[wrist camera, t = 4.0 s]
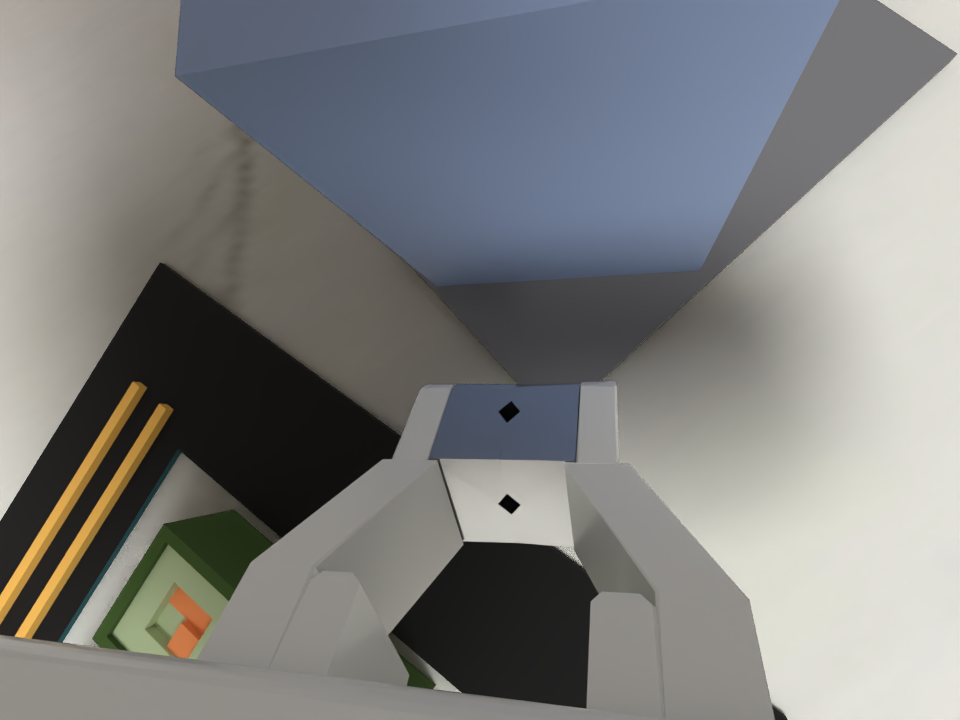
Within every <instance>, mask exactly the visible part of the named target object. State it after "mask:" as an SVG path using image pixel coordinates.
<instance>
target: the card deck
mask: <svg viewBox="0 0 960 720" xmlns="http://www.w3.org/2000/svg"><path fill="white" fill-rule="evenodd" d="M838 2H839V0H181V6H180V19H179V31H178V43H177V56H176V68H175V77H177V78H178V79H179V80H180V81H182V82H183V83H184V84H185V85H187V86H188V87H189V88H190V89H192V90H193V91H194V92H195V93H197V94H198V95H199V96H200V97H202V98H203V99H204V100H205V101H207V102H208V103H209V104H210V105H212V106H213V107H214V108H215V109H217V110H218V111H219V112H220V113H222V114H223V115H224V116H225V117H227V118H228V119H229V120H230V121H232V122H233V123H234V124H235V125H236V126H238V127H239V128H240V129H241V130H243V131H244V132H245V133H246V134H248V135H249V136H250V137H251V138H253V139H254V140H255V141H256V142H258V143H259V144H260V145H261V146H263V147H264V148H265V149H266V150H268V151H269V152H270V153H271V154H273V155H274V156H275V157H276V158H278V159H279V160H280V161H281V162H283V163H284V164H285V165H286V166H288V167H289V168H290V169H291V170H293V171H294V172H295V173H296V174H298V175H299V176H300V177H301V178H303V179H304V180H305V181H306V182H308V183H309V184H310V185H311V186H313V187H314V188H315V189H316V190H318V191H319V192H320V193H321V194H323V195H324V196H325V197H326V198H328V199H329V200H330V201H331V202H333V203H334V204H335V205H336V206H338V207H339V208H340V209H341V210H343V211H344V212H345V213H346V214H348V215H349V216H350V217H351V218H352V219H354V220H355V221H356V222H357V223H359V224H360V225H361V226H362V227H364V228H365V229H366V230H367V231H369V232H370V233H371V234H372V235H374V236H375V237H376V238H377V239H379V240H380V241H381V242H382V243H384V244H385V245H386V246H387V247H389V248H390V249H391V250H392V251H394V252H395V253H396V254H397V255H399V256H400V257H401V258H402V259H404V260H405V261H406V262H407V263H409V264H410V265H411V266H412V267H414V268H415V269H416V270H417V271H419V272H420V273H421V274H422V275H424V276H425V277H426V278H427V279H429V280H430V281H431V282H432V283H434V284H435V285H436V286H437V287H440V286H456V285H473V284H489V283H505V282H521V281H537V280H553V279H570V278H586V277H602V276H618V275H634V274H650V273H667V272H683V271H699V270H700V269H701V267H702V265H703V263H704V262H705V260H706V258H707V256H708V254H709V252H710V250H711V248H712V246H713V244H714V242H715V240H716V238H717V236H718V234H719V232H720V231H721V229H722V227H723V225H724V223H725V221H726V219H727V217H728V215H729V213H730V211H731V209H732V207H733V205H734V203H735V202H736V200H737V198H738V196H739V194H740V192H741V190H742V188H743V186H744V184H745V182H746V180H747V178H748V176H749V174H750V172H751V171H752V169H753V167H754V165H755V163H756V161H757V159H758V157H759V155H760V153H761V151H762V149H763V147H764V145H765V143H766V142H767V140H768V138H769V136H770V134H771V132H772V130H773V128H774V126H775V124H776V122H777V120H778V118H779V116H780V114H781V112H782V111H783V109H784V107H785V105H786V103H787V101H788V99H789V97H790V95H791V93H792V91H793V89H794V87H795V85H796V83H797V81H798V80H799V78H800V76H801V74H802V72H803V70H804V68H805V66H806V64H807V62H808V60H809V58H810V56H811V54H812V52H813V51H814V49H815V47H816V45H817V43H818V41H819V39H820V37H821V35H822V33H823V31H824V29H825V27H826V25H827V23H828V21H829V20H830V18H831V16H832V14H833V12H834V10H835V8H836V6H837V4H838Z"/></svg>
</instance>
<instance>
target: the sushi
mask: <svg viewBox="0 0 960 720" xmlns="http://www.w3.org/2000/svg"><path fill="white" fill-rule="evenodd" d="M400 438H401V436H400V435H399V434H397V433H396V432H395V431H393V430H392V429H390V428H389V427H388V426H386V425H385V424H384V423H382V422H381V421H379V420H378V419H377V418H375V417H374V416H373V415H371V414H370V413H368V412H367V411H366V410H364V409H363V408H362V407H360V406H359V405H357V404H356V403H355V402H353V401H352V400H351V399H349V398H348V397H346V396H345V395H344V394H342V393H341V392H340V391H338V390H337V389H336V388H334V387H333V386H331V385H330V384H329V383H327V382H326V381H325V380H323V379H322V378H320V377H319V376H318V375H316V374H315V373H314V372H312V371H311V370H309V369H308V368H307V367H305V366H304V365H303V364H301V363H300V362H298V361H297V360H296V359H294V358H293V357H292V356H290V355H289V354H287V353H286V352H285V351H283V350H282V349H281V348H279V347H278V346H277V345H275V344H274V343H272V342H271V341H270V340H268V339H267V338H266V337H264V336H263V335H261V334H260V333H259V332H257V331H256V330H255V329H253V328H252V327H250V326H249V325H248V324H246V323H245V322H244V321H242V320H241V319H239V318H238V317H237V316H235V315H234V314H233V313H231V312H230V311H228V310H227V309H226V308H224V307H223V306H222V305H220V304H219V303H217V302H216V301H215V300H213V299H212V298H211V297H209V296H208V295H207V294H205V293H204V292H202V291H201V290H200V289H198V288H197V287H196V286H194V285H193V284H191V283H190V282H189V281H187V280H186V279H185V278H183V277H182V276H180V275H179V274H178V273H176V272H175V271H174V270H172V269H171V268H169V267H168V266H167V265H165V264H163V263H159V265H158V266H157V268H156V270H155V271H154V273H153V275H152V276H151V278H150V279H149V281H148V283H147V284H146V286H145V288H144V289H143V291H142V292H141V294H140V296H139V297H138V299H137V301H136V302H135V304H134V305H133V307H132V309H131V310H130V312H129V313H128V315H127V317H126V318H125V320H124V322H123V323H122V325H121V326H120V328H119V330H118V331H117V333H116V335H115V336H114V338H113V339H112V341H111V343H110V344H109V346H108V348H107V349H106V351H105V352H104V354H103V356H102V357H101V359H100V360H99V362H98V364H97V365H96V367H95V369H94V370H93V372H92V373H91V375H90V377H89V378H88V380H87V382H86V383H85V385H84V386H83V388H82V390H81V391H80V393H79V395H78V396H77V398H76V399H75V401H74V403H73V404H72V406H71V407H70V409H69V411H68V412H67V414H66V416H65V417H64V419H63V420H62V422H61V424H60V425H59V427H58V429H57V430H56V432H55V433H54V435H53V437H52V438H51V440H50V442H49V443H48V445H47V446H46V448H45V450H44V451H43V453H42V455H41V456H40V458H39V459H38V461H37V463H36V464H35V466H34V467H33V469H32V471H31V472H30V474H29V476H28V477H27V479H26V480H25V482H24V484H23V485H22V487H21V489H20V490H19V492H18V493H17V495H16V497H15V498H14V500H13V502H12V503H11V505H10V506H9V508H8V510H7V511H6V513H5V514H4V516H3V518H2V519H1V521H0V635H5V636H13V637H21V638H29V639H37V640H45V641H53V642H61V643H62V642H63V640H64V639H65V637H66V636H67V634H68V632H69V631H70V629H71V628H72V626H73V624H74V623H75V621H76V620H77V618H78V616H79V615H80V613H81V612H82V610H83V608H84V607H85V605H86V604H87V602H88V600H89V599H90V597H91V596H92V594H93V592H94V591H95V589H96V588H97V586H98V584H99V583H100V581H101V580H102V578H103V576H104V575H105V573H106V572H107V570H108V568H109V567H110V565H111V564H112V562H113V560H114V559H115V557H116V555H117V554H118V552H119V551H120V549H121V547H122V546H123V544H124V543H125V541H126V539H127V538H128V536H129V535H130V533H131V531H132V530H133V528H134V527H135V525H136V523H137V522H138V520H139V519H140V517H141V515H142V514H143V512H144V511H145V509H146V507H147V506H148V504H149V503H150V501H151V499H152V498H153V496H154V495H155V493H156V491H157V490H158V488H159V487H160V485H161V483H162V482H163V480H164V479H165V477H166V475H167V474H168V472H169V471H170V469H171V467H172V466H173V464H174V463H175V461H176V459H177V458H178V456H179V454H180V453H181V452H182V453H184V454H185V455H186V456H187V457H188V458H189V459H191V460H192V461H193V462H194V463H195V464H196V465H198V466H199V467H200V468H201V469H202V470H203V471H204V472H206V473H207V474H208V475H209V476H210V477H211V478H213V479H214V480H215V481H216V482H217V483H218V484H220V485H221V486H222V487H223V488H224V489H225V490H227V491H228V492H229V493H230V494H231V495H232V496H234V497H235V498H236V499H237V500H238V501H239V502H241V503H242V504H243V505H244V506H245V507H246V508H248V509H249V510H250V511H251V512H252V513H253V514H255V515H256V516H257V517H258V518H259V519H260V520H262V521H263V522H264V523H265V524H266V525H267V526H269V527H270V528H271V529H272V530H273V531H274V532H275V533H277V534H278V535H279V536H280V537H281V538H283V537H284V536H285V535H286V534H288V533H289V532H290V531H291V530H293V529H294V528H295V527H297V526H298V525H299V524H300V523H302V522H303V521H304V520H306V519H307V518H308V517H309V516H311V515H312V514H313V513H315V512H316V511H317V510H318V509H320V508H321V507H322V506H324V505H325V504H326V503H327V502H329V501H330V500H331V499H332V498H334V497H335V496H336V495H338V494H339V493H340V492H341V491H343V490H344V489H345V488H347V487H348V486H349V485H350V484H352V483H353V482H354V481H356V480H357V479H358V478H359V477H361V476H362V475H363V474H365V473H366V472H367V471H368V470H370V469H371V468H372V467H374V466H375V465H376V464H377V463H379V462H380V461H381V460H382V459H392V458H393V455H394V453H395V450H396V448H397V445H398V443H399V440H400ZM272 545H274V544H273V543H272V542H271V541H269V540H268V539H267V538H266V537H265V536H264V535H262V534H261V533H260V532H259V531H258V530H257V529H256V528H254V527H253V526H252V525H251V524H250V523H249V522H248V521H246V520H245V519H244V518H243V517H242V516H241V515H239V514H238V513H237V512H236V511H235V510H230V511H225V512H220V513H215V514H210V515H205V516H200V517H195V518H191V519H186V520H181V521H176V522H171V523H166V524H164V525H163V526H162V528H161V529H160V531H159V533H158V534H157V536H156V537H155V539H154V541H153V542H152V544H151V545H150V547H149V549H148V550H147V552H146V553H145V555H144V557H143V558H142V560H141V561H140V563H139V565H138V566H137V568H136V569H135V571H134V572H133V574H132V576H131V577H130V579H129V580H128V582H127V584H126V585H125V587H124V588H123V590H122V592H121V593H120V595H119V596H118V598H117V600H116V601H115V603H114V604H113V606H112V608H111V609H110V611H109V612H108V614H107V616H106V617H105V619H104V620H103V622H102V624H101V625H100V627H99V628H98V630H97V632H96V633H95V635H94V636H93V638H92V639H93V640H94V641H95V642H96V643H97V644H98V645H99V646H100V647H101V648H109V649H117V650H125V651H133V652H141V653H149V654H157V655H164V656H172V657H180V658H188V659H197V658H198V656H199V654H200V652H201V650H202V649H203V647H204V645H205V643H206V642H207V640H208V638H209V636H210V634H211V633H212V631H213V629H214V627H215V625H216V624H217V622H218V620H219V618H220V617H221V615H222V613H223V611H224V609H225V608H226V606H227V604H228V602H229V600H230V599H231V597H232V595H233V593H234V592H235V590H236V588H237V586H238V584H239V583H240V581H241V579H242V577H243V575H244V574H245V572H246V570H247V568H248V567H249V565H250V563H251V562H252V561H253V560H254V559H256V558H257V557H258V556H259V555H261V554H262V553H263V552H265V551H266V550H267V549H268V548H270V547H271V546H272ZM598 594H599V593H598V592H597V590H596V588H595V586H594V584H593V583H592V581H591V579H590V577H589V576H588V574H587V572H586V571H585V570H584V569H583V568H581V567H580V566H578V565H577V564H576V563H574V562H573V561H572V560H570V559H569V558H567V557H566V556H565V555H563V554H562V553H561V552H559V551H558V550H556V549H555V548H554V547H552V546H550V545H537V544H525V543H505V542H469V541H463V546H462V547H461V548H460V549H459V551H458V552H457V553H456V554H455V555H454V557H453V558H452V559H451V560H450V561H449V563H448V564H447V565H446V566H445V567H444V569H443V570H442V571H441V572H440V573H439V575H438V576H437V577H436V578H435V579H434V581H433V582H432V583H431V584H430V585H429V587H428V588H427V589H426V590H425V591H424V593H423V594H422V595H421V596H420V597H419V599H418V600H417V601H416V602H415V603H414V605H413V606H412V607H411V608H410V609H409V611H408V612H407V613H406V614H405V615H404V617H403V618H402V619H401V620H400V621H399V623H398V624H397V625H396V626H395V627H394V629H393V630H392V631H391V632H392V633H393V634H394V635H395V636H397V637H398V638H399V639H400V640H401V641H402V642H404V643H405V644H406V645H407V646H408V647H409V648H411V649H412V650H413V651H414V652H415V653H416V654H417V655H419V656H420V657H421V658H422V659H423V660H424V661H426V662H427V663H428V664H429V665H430V666H431V667H433V668H434V669H435V670H436V671H437V672H438V673H440V674H441V675H442V676H443V677H444V678H445V679H447V680H448V681H449V682H450V683H451V684H452V685H454V686H455V687H456V688H457V689H458V690H459V691H461V692H462V693H466V694H474V695H482V696H490V697H498V698H506V699H514V700H521V701H529V702H537V703H545V704H553V705H561V706H569V707H577V708H585V709H587V683H588V658H589V632H590V607H591V601H592V600H593V599H594V598H595V597H596V596H597V595H598ZM397 653H398V652H397ZM398 654H399V656H400V658H401V660H402V662H403V664H404V666H405V668H406V670H407V672H408V674H409V678H408V682H407V686H411V687H419V688H426V689H433V688H434V687H435V684H434V683H433V682H432V681H431V680H429V679H428V678H427V677H426V676H425V675H424V674H423V673H421V672H420V671H419V670H418V669H417V668H416V667H414V666H413V665H412V664H411V663H410V662H409V661H408V660H406V659H405V658H404V657H403V656H402V655H401V654H400V653H398ZM772 709H773V713H774V718H775V720H788V719H787V718H786V716H784V715H783V714H781V713H780V712H779V711H777V710H776V709H775V708H773V707H772Z"/></svg>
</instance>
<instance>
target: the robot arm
mask: <svg viewBox="0 0 960 720" xmlns="http://www.w3.org/2000/svg"><path fill="white" fill-rule="evenodd" d="M463 541H469V542H505V543H525V544H537V545H550V546H562V547H574V551H575V552H576V554H577V556H578V558H579V559H580V561H581V563H582V565H583V567H584V568H585V570H586V572H587V574H588V576H589V577H590V579H591V581H592V583H593V584H594V586H595V588H596V590H597V592H598V593H599V594H598V595H597V596H596V597H595V598H594V599H593V600H592V601H591V607H590V632H589V658H588V683H587V709H585V708H577V707H569V706H561V705H553V704H545V703H537V702H529V701H521V700H514V699H506V698H498V697H490V696H482V695H474V694H466V693H458V692H450V691H442V690H434V689H426V688H419V687H411V686H407V682H408V678H409V674H408V672H407V670H406V668H405V666H404V664H403V662H402V660H401V658H400V656H399V654H398V653H397V651H396V649H395V647H394V645H393V643H392V642H391V640H390V638H389V636H388V635H389V633H390V632H391V631H392V630H393V629H394V627H395V626H396V625H397V624H398V623H399V621H400V620H401V619H402V618H403V617H404V615H405V614H406V613H407V612H408V611H409V609H410V608H411V607H412V606H413V605H414V603H415V602H416V601H417V600H418V599H419V597H420V596H421V595H422V594H423V593H424V591H425V590H426V589H427V588H428V587H429V585H430V584H431V583H432V582H433V581H434V579H435V578H436V577H437V576H438V575H439V573H440V572H441V571H442V570H443V569H444V567H445V566H446V565H447V564H448V563H449V561H450V560H451V559H452V558H453V557H454V555H455V554H456V553H457V552H458V551H459V549H460V548H461V547H462V546H463ZM0 720H775V718H774V713H773V709H772V704H771V699H770V695H769V690H768V685H767V681H766V676H765V671H764V666H763V662H762V657H761V652H760V648H759V643H758V638H757V634H756V629H755V624H754V620H753V615H752V610H751V605H750V601H749V599H748V598H747V597H746V595H745V594H744V593H743V592H742V591H741V590H740V589H739V588H738V586H737V585H736V584H735V583H734V582H733V581H732V580H731V578H730V577H729V576H728V575H727V574H726V573H725V572H724V570H723V569H722V568H721V567H720V566H719V565H718V564H717V563H716V561H715V560H714V559H713V558H712V557H711V556H710V555H709V553H708V552H707V551H706V550H705V549H704V548H703V547H702V545H701V544H700V543H699V542H698V541H697V540H696V539H695V538H694V536H693V535H692V534H691V533H690V532H689V531H688V530H687V528H686V527H685V526H684V525H683V524H682V523H681V522H680V521H679V519H678V518H677V517H676V516H675V515H674V514H673V513H672V511H671V510H670V509H669V508H668V507H667V506H666V505H665V503H664V502H663V501H662V500H661V499H660V498H659V497H658V496H657V494H656V493H655V492H654V491H653V490H652V489H651V488H650V486H649V485H648V484H647V483H646V482H645V481H644V480H643V479H642V477H641V476H640V475H639V474H638V473H637V472H636V471H635V469H634V468H633V467H632V466H631V465H630V464H619V443H618V408H617V385H616V383H615V381H602V382H582V384H581V383H561V384H518V385H517V384H456V385H453V384H426V385H425V386H424V387H422V388H421V389H420V391H419V393H418V396H417V398H416V401H415V403H414V406H413V408H412V410H411V413H410V415H409V418H408V420H407V423H406V425H405V428H404V430H403V433H402V435H401V438H400V440H399V443H398V445H397V448H396V450H395V453H394V455H393V458H392V459H382V460H381V461H380V462H379V463H377V464H376V465H375V466H374V467H372V468H371V469H370V470H368V471H367V472H366V473H365V474H363V475H362V476H361V477H359V478H358V479H357V480H356V481H354V482H353V483H352V484H350V485H349V486H348V487H347V488H345V489H344V490H343V491H341V492H340V493H339V494H338V495H336V496H335V497H334V498H332V499H331V500H330V501H329V502H327V503H326V504H325V505H324V506H322V507H321V508H320V509H318V510H317V511H316V512H315V513H313V514H312V515H311V516H309V517H308V518H307V519H306V520H304V521H303V522H302V523H300V524H299V525H298V526H297V527H295V528H294V529H293V530H291V531H290V532H289V533H288V534H286V535H285V536H284V537H283V538H281V539H280V540H279V541H277V542H276V543H275V544H274V545H272V546H271V547H270V548H268V549H267V550H266V551H265V552H263V553H262V554H261V555H259V556H258V557H257V558H256V559H254V560H253V561H252V562H251V563H250V565H249V567H248V568H247V570H246V572H245V574H244V575H243V577H242V579H241V581H240V583H239V584H238V586H237V588H236V590H235V592H234V593H233V595H232V597H231V599H230V600H229V602H228V604H227V606H226V608H225V609H224V611H223V613H222V615H221V617H220V618H219V620H218V622H217V624H216V625H215V627H214V629H213V631H212V633H211V634H210V636H209V638H208V640H207V642H206V643H205V645H204V647H203V649H202V650H201V652H200V654H199V656H198V658H197V659H188V658H180V657H172V656H164V655H157V654H149V653H141V652H133V651H125V650H117V649H109V648H101V647H93V646H85V645H77V644H69V643H61V642H53V641H45V640H37V639H29V638H21V637H13V636H5V635H0Z"/></svg>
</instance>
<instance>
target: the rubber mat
mask: <svg viewBox="0 0 960 720" xmlns="http://www.w3.org/2000/svg"><path fill="white" fill-rule="evenodd" d="M956 55H957V53H956V52H954V51H953V50H951V49H950V48H948V47H947V46H945V45H944V44H942V43H941V42H939V41H938V40H936V39H935V38H933V37H932V36H930V35H929V34H927V33H926V32H924V31H923V30H921V29H920V28H918V27H917V26H915V25H914V24H912V23H911V22H909V21H908V20H906V19H905V18H903V17H902V16H900V15H899V14H897V13H896V12H894V11H893V10H891V9H889V8H888V7H886V6H885V5H883V4H882V3H880V2H879V1H877V0H839V2H838V4H837V6H836V8H835V10H834V12H833V14H832V16H831V18H830V20H829V21H828V23H827V25H826V27H825V29H824V31H823V33H822V35H821V37H820V39H819V41H818V43H817V45H816V47H815V49H814V51H813V52H812V54H811V56H810V58H809V60H808V62H807V64H806V66H805V68H804V70H803V72H802V74H801V76H800V78H799V80H798V81H797V83H796V85H795V87H794V89H793V91H792V93H791V95H790V97H789V99H788V101H787V103H786V105H785V107H784V109H783V111H782V112H781V114H780V116H779V118H778V120H777V122H776V124H775V126H774V128H773V130H772V132H771V134H770V136H769V138H768V140H767V142H766V143H765V145H764V147H763V149H762V151H761V153H760V155H759V157H758V159H757V161H756V163H755V165H754V167H753V169H752V171H751V172H750V174H749V176H748V178H747V180H746V182H745V184H744V186H743V188H742V190H741V192H740V194H739V196H738V198H737V200H736V202H735V203H734V205H733V207H732V209H731V211H730V213H729V215H728V217H727V219H726V221H725V223H724V225H723V227H722V229H721V231H720V232H719V234H718V236H717V238H716V240H715V242H714V244H713V246H712V248H711V250H710V252H709V254H708V256H707V258H706V260H705V262H704V263H703V265H702V267H701V269H700V270H699V271H683V272H667V273H650V274H634V275H618V276H602V277H586V278H570V279H553V280H537V281H521V282H505V283H489V284H473V285H456V286H440V287H437V286H436V285H435V284H434V283H432V282H431V281H430V280H429V279H427V278H426V277H425V276H424V275H422V274H421V273H420V272H419V271H417V270H416V269H415V268H414V267H412V266H411V265H410V264H409V265H410V266H411V267H412V268H413V269H414V270H415V271H416V272H417V273H418V274H419V276H420V277H421V278H422V279H423V280H424V281H425V282H426V283H427V284H428V285H429V287H430V288H431V289H432V290H433V291H434V292H435V293H436V294H437V295H438V296H439V298H440V299H441V300H442V301H443V302H444V303H445V304H446V305H447V306H448V307H449V309H450V310H451V311H452V312H453V313H454V314H455V315H456V316H457V317H458V318H459V320H460V321H461V322H462V323H463V324H464V325H465V326H466V327H467V328H468V329H469V331H470V332H471V333H472V334H473V335H474V336H475V337H476V338H477V339H478V340H479V342H480V343H481V344H482V345H483V346H484V347H485V348H486V349H487V350H488V351H489V353H490V354H491V355H492V356H493V357H494V358H495V359H496V360H497V361H498V362H499V364H500V365H501V366H502V367H503V368H504V369H505V370H506V371H507V372H508V373H509V375H510V376H511V377H512V378H513V379H514V380H515V381H516V382H517V383H518V384H561V383H581V384H582V382H600V381H602V380H603V379H604V378H605V377H606V376H607V375H608V374H609V373H610V372H611V371H612V370H614V369H615V368H616V367H617V366H618V365H619V364H620V363H621V362H622V361H623V360H625V359H626V358H627V357H628V356H629V355H630V354H631V353H632V352H633V351H634V350H635V349H637V348H638V347H639V346H640V345H641V344H642V343H643V342H644V341H645V340H646V339H648V338H649V337H650V336H651V335H652V334H653V333H654V332H655V331H656V330H657V329H658V328H660V327H661V326H662V325H663V324H664V323H665V322H666V321H667V320H668V319H669V318H670V317H672V316H673V315H674V314H675V313H676V312H677V311H678V310H679V309H680V308H681V307H683V306H684V305H685V304H686V303H687V302H688V301H689V300H690V299H691V298H692V297H693V296H695V295H696V294H697V293H698V292H699V291H700V290H701V289H702V288H703V287H704V286H706V285H707V284H708V283H709V282H710V281H711V280H712V279H713V278H714V277H715V276H716V275H718V274H719V273H720V272H721V271H722V270H723V269H724V268H725V267H726V266H727V265H728V264H730V263H731V262H732V261H733V260H734V259H735V258H736V257H737V256H738V255H739V254H741V253H742V252H743V251H744V250H745V249H746V248H747V247H748V246H749V245H750V244H751V243H753V242H754V241H755V240H756V239H757V238H758V237H759V236H760V235H761V234H762V233H764V232H765V231H766V230H767V229H768V228H769V227H770V226H771V225H772V224H773V223H774V222H776V221H777V220H778V219H779V218H780V217H781V216H782V215H783V214H784V213H785V212H786V211H788V210H789V209H790V208H791V207H792V206H793V205H794V204H795V203H796V202H797V201H799V200H800V199H801V198H802V197H803V196H804V195H805V194H806V193H807V192H808V191H809V190H811V189H812V188H813V187H814V186H815V185H816V184H817V183H818V182H819V181H820V180H822V179H823V178H824V177H825V176H826V175H827V174H828V173H829V172H830V171H831V170H832V169H834V168H835V167H836V166H837V165H838V164H839V163H840V162H841V161H842V160H843V159H844V158H846V157H847V156H848V155H849V154H850V153H851V152H852V151H853V150H854V149H855V148H857V147H858V146H859V145H860V144H861V143H862V142H863V141H864V140H865V139H866V138H867V137H869V136H870V135H871V134H872V133H873V132H874V131H875V130H876V129H877V128H878V127H880V126H881V125H882V124H883V123H884V122H885V121H886V120H887V119H888V118H889V117H890V116H892V115H893V114H894V113H895V112H896V111H897V110H898V109H899V108H900V107H901V106H903V105H904V104H905V103H906V102H907V101H908V100H909V99H910V98H911V97H912V96H913V95H915V94H916V93H917V92H918V91H919V90H920V89H921V88H922V87H923V86H924V85H925V84H927V83H928V82H929V81H930V80H931V79H932V78H933V77H934V76H935V75H936V74H938V73H939V72H940V71H941V70H942V69H943V68H944V67H945V66H946V65H947V64H948V63H949V62H950V61H951V60H952V59H953V58H954V57H955V56H956Z"/></svg>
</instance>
